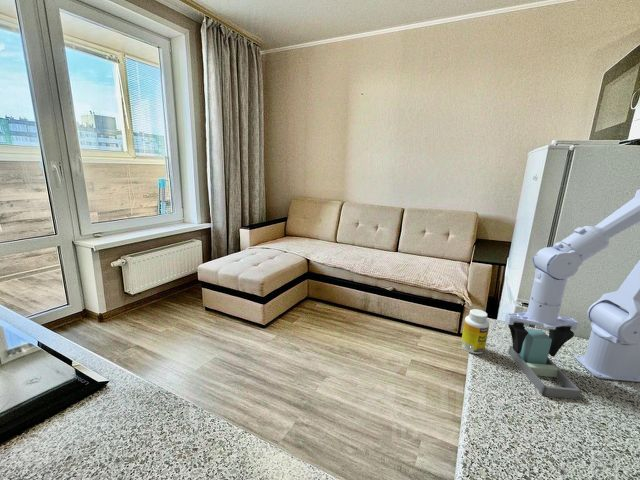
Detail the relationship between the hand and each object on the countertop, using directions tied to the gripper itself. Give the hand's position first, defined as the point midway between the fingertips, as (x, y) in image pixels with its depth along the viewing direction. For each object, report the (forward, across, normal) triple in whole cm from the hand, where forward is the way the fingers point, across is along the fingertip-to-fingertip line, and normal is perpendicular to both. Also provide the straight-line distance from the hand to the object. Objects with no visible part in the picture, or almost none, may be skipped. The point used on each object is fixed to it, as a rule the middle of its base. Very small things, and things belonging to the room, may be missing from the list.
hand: (533, 352), depth 73 cm
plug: (+3, 0, 0) cm, 3 cm away
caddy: (+3, 0, -4) cm, 5 cm away
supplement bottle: (+3, -12, +4) cm, 13 cm away
